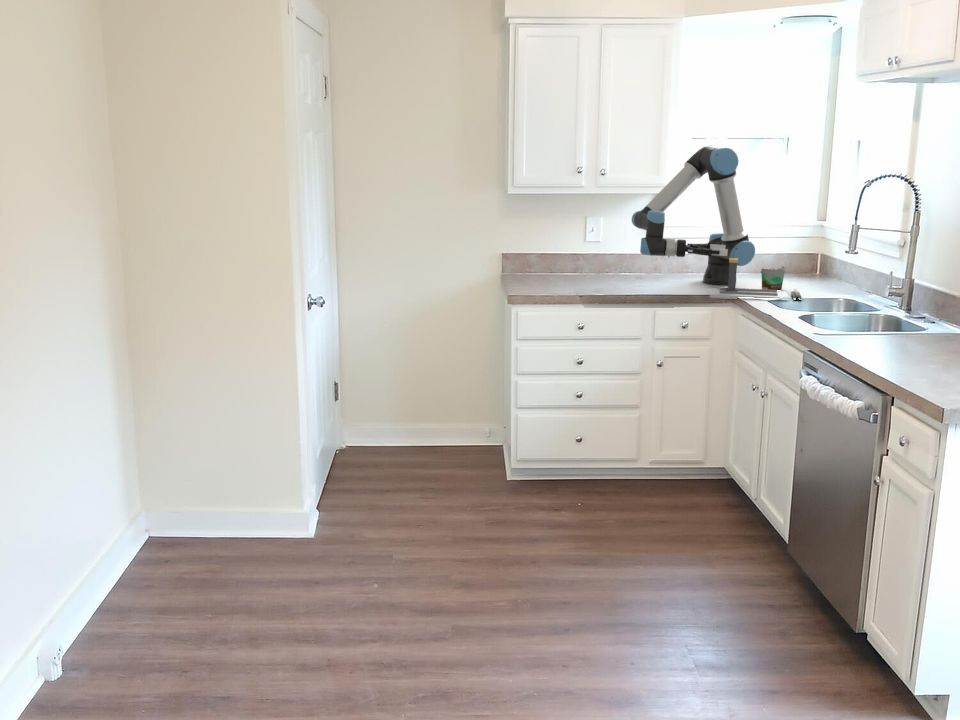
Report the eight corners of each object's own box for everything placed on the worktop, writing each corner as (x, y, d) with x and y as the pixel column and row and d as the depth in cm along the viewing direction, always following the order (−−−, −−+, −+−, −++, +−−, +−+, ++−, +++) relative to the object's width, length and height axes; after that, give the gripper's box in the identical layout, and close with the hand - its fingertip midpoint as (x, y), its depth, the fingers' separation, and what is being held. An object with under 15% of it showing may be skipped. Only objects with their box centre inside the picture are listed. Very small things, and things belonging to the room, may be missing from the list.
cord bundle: (790, 294, 385) (791, 288, 384) (799, 295, 384) (799, 288, 383) (792, 301, 372) (793, 294, 371) (801, 301, 371) (802, 294, 371)
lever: (725, 289, 387) (727, 257, 383) (737, 290, 385) (739, 258, 381) (725, 292, 382) (727, 259, 378) (737, 292, 381) (739, 260, 377)
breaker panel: (710, 291, 393) (710, 285, 392) (785, 294, 385) (785, 288, 384) (709, 297, 380) (710, 292, 379) (787, 301, 372) (788, 295, 371)
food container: (768, 293, 389) (770, 270, 386) (759, 290, 394) (760, 268, 391) (790, 290, 393) (792, 268, 390) (781, 288, 398) (783, 266, 396)
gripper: (675, 252, 396) (723, 254, 393) (676, 260, 373) (727, 263, 369) (676, 235, 394) (725, 237, 391) (677, 243, 371) (729, 245, 367)
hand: (726, 250), depth 380 cm, fingers open, 13 cm apart
